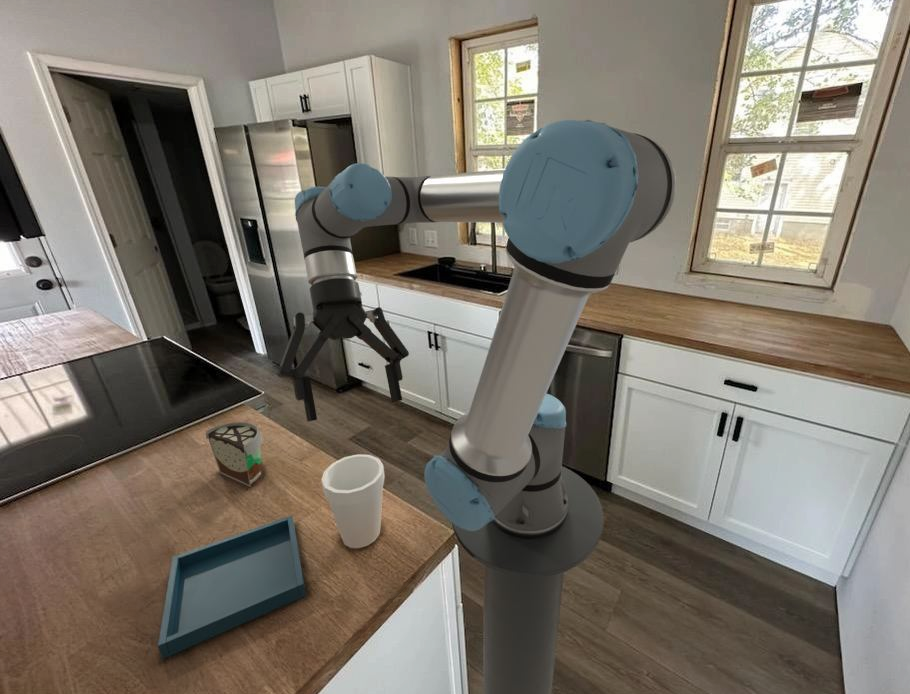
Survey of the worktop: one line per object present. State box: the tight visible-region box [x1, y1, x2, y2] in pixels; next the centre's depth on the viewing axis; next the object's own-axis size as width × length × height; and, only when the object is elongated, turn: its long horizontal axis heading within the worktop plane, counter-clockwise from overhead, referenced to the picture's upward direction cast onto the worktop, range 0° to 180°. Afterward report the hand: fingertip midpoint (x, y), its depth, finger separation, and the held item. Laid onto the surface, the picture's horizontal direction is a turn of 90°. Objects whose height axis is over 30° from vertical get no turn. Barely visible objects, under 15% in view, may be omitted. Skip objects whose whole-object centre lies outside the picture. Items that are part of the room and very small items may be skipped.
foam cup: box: [320, 453, 386, 549], centre depth 69 cm, size 10×9×13 cm
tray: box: [157, 514, 307, 660], centre depth 62 cm, size 17×15×2 cm
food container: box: [205, 421, 264, 488], centre depth 83 cm, size 12×6×10 cm, turn 66°
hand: (357, 410), depth 66 cm, fingers open, 13 cm apart
